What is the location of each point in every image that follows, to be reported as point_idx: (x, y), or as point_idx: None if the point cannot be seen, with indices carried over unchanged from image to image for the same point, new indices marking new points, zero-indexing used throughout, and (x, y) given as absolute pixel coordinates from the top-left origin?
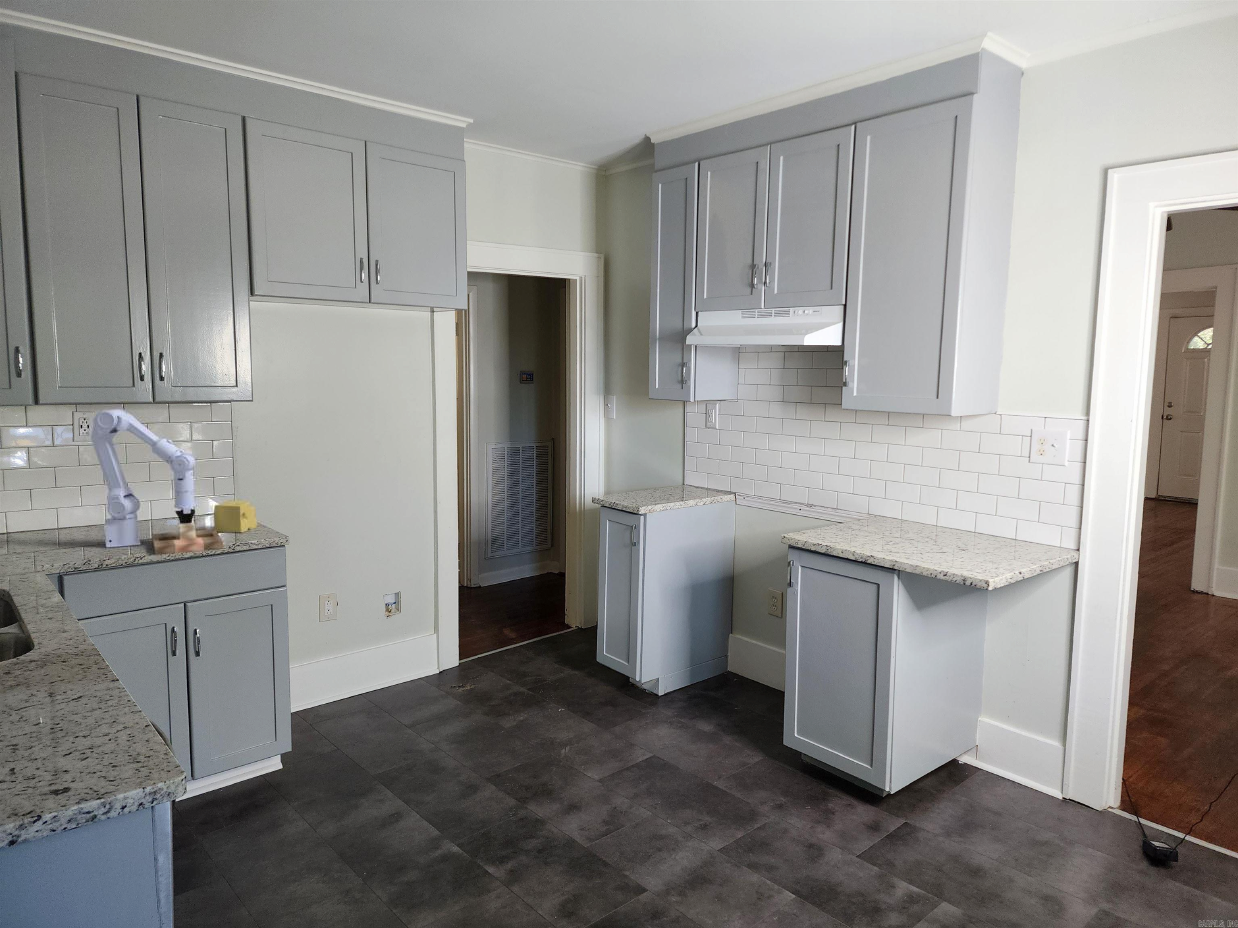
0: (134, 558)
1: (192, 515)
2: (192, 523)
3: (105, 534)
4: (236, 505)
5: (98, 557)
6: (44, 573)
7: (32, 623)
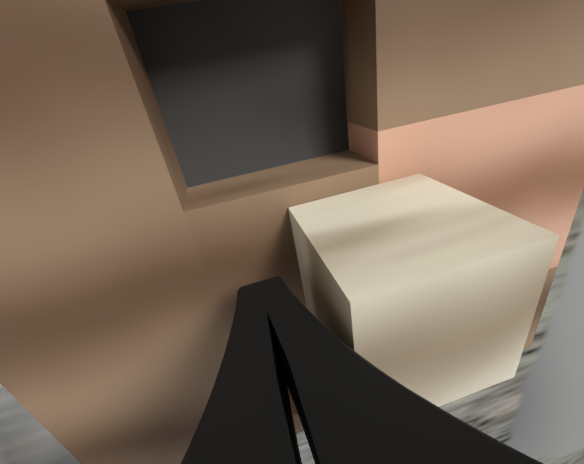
0: None
1: (504, 455)
2: (404, 304)
3: None
4: None
5: None
6: (545, 460)
7: None
